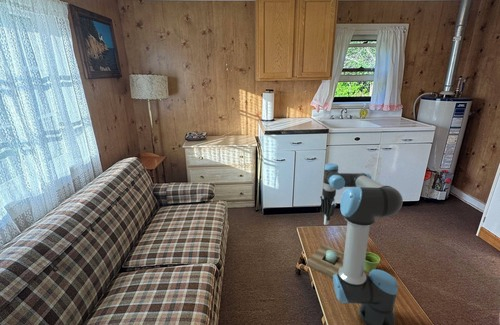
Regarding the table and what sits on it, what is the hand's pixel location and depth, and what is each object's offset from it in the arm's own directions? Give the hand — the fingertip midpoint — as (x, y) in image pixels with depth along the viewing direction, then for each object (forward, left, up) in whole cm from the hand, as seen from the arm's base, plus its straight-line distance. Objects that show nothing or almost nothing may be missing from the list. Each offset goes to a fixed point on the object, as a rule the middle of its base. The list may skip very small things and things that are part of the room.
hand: (326, 224), depth 165 cm
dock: (-11, -9, -19) cm, 23 cm away
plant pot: (-1, -28, -19) cm, 34 cm away
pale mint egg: (-11, -9, -16) cm, 21 cm away
